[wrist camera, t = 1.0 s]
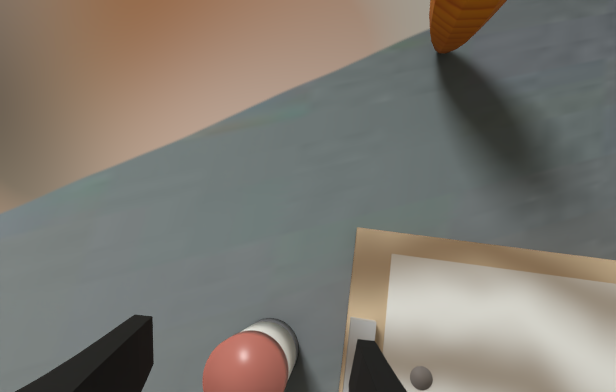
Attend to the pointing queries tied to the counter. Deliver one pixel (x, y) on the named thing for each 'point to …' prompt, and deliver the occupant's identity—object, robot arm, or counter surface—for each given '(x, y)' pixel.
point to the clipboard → (482, 315)
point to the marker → (253, 359)
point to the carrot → (458, 21)
